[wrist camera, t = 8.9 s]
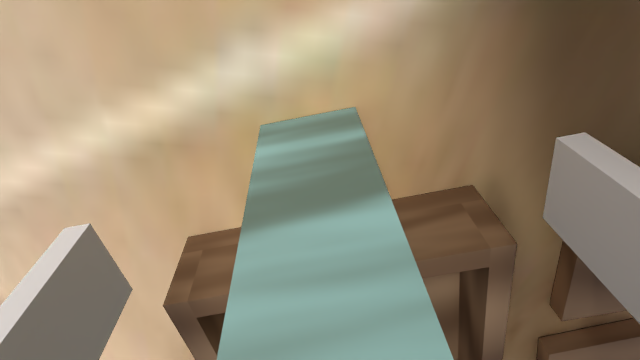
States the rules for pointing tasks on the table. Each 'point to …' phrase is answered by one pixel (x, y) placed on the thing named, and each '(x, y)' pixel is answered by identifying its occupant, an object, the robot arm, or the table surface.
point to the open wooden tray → (343, 261)
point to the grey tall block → (579, 290)
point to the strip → (593, 343)
